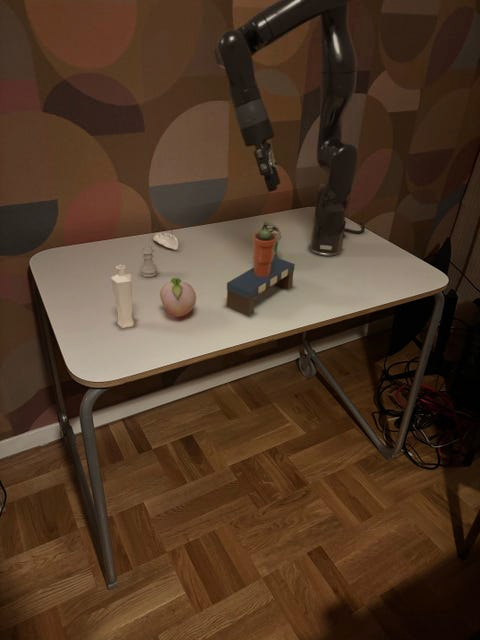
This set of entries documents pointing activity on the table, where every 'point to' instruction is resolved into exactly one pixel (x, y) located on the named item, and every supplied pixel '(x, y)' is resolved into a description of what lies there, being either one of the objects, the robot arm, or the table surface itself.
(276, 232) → the wedge shaped tart
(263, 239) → the pot
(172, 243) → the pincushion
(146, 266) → the rook chess piece
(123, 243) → the table surface
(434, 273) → the table surface
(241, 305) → the dark blue bench
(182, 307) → the decorative fruit
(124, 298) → the perfume bottle
